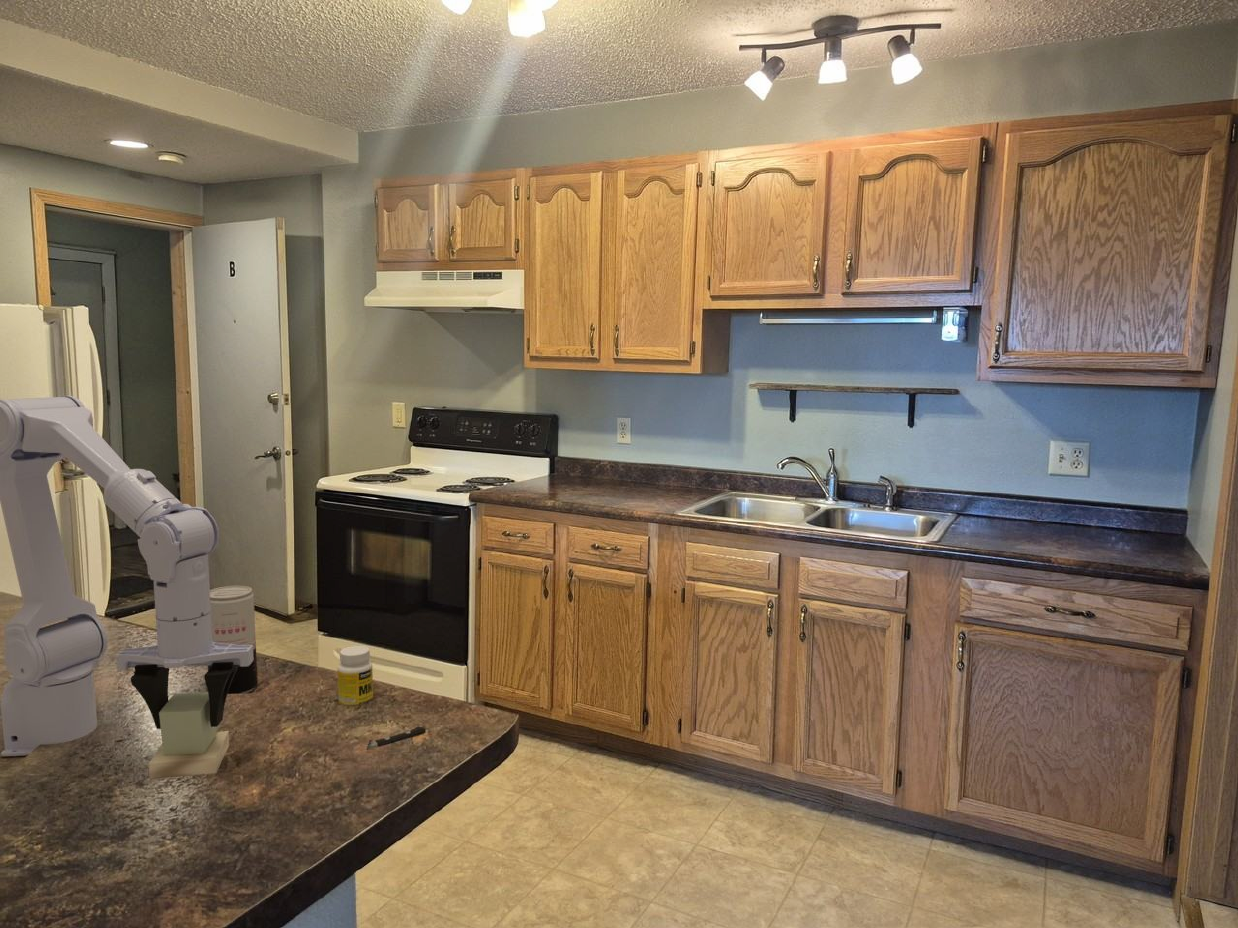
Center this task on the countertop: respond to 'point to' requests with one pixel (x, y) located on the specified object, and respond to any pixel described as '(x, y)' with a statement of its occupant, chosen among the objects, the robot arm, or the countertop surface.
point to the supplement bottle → (355, 676)
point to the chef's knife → (395, 738)
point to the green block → (186, 724)
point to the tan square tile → (190, 760)
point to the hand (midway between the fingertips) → (189, 724)
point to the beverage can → (235, 629)
